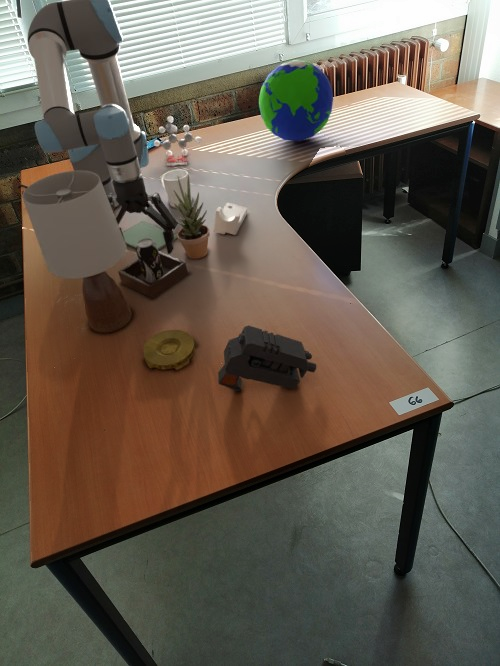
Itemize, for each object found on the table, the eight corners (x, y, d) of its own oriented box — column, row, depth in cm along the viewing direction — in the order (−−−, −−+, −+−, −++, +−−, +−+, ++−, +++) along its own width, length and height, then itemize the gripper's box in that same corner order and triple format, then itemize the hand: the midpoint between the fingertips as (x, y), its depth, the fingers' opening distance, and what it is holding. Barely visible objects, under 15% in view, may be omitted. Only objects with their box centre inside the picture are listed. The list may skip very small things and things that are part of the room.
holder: (121, 283, 143) (117, 271, 141) (156, 260, 151) (153, 249, 148) (152, 298, 136) (149, 286, 134) (188, 274, 143) (185, 262, 141)
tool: (211, 370, 109) (238, 319, 100) (290, 389, 115) (321, 343, 107) (212, 390, 104) (240, 339, 96) (294, 410, 111) (327, 363, 102)
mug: (197, 198, 179) (192, 170, 173) (185, 209, 174) (179, 181, 167) (172, 195, 184) (165, 167, 177) (158, 206, 178) (152, 178, 171)
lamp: (86, 299, 139) (35, 172, 115) (152, 295, 137) (114, 164, 113) (66, 345, 125) (2, 211, 101) (138, 341, 123) (92, 203, 99)
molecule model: (154, 173, 207) (143, 140, 194) (159, 149, 216) (149, 116, 203) (201, 170, 205) (193, 136, 192) (205, 146, 213) (198, 112, 200)
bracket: (235, 237, 158) (238, 216, 153) (213, 231, 158) (216, 210, 153) (246, 217, 167) (249, 197, 162) (225, 211, 168) (228, 191, 162)
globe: (304, 121, 227) (302, 47, 207) (348, 138, 206) (349, 57, 187) (248, 140, 217) (240, 64, 197) (288, 160, 196) (283, 77, 177)
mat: (114, 239, 163) (114, 237, 163) (142, 223, 170) (142, 221, 169) (150, 254, 154) (150, 253, 153) (178, 237, 160) (178, 235, 160)
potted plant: (199, 241, 157) (184, 164, 140) (219, 251, 151) (206, 172, 135) (174, 255, 152) (155, 178, 136) (193, 266, 146) (177, 186, 130)
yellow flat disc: (187, 373, 113) (186, 366, 112) (138, 370, 116) (135, 363, 114) (200, 337, 122) (199, 330, 121) (154, 335, 124) (152, 328, 123)
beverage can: (154, 286, 140) (144, 250, 132) (140, 281, 143) (129, 244, 135) (169, 276, 144) (159, 239, 136) (155, 270, 146) (145, 234, 139)
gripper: (73, 184, 123) (99, 258, 137) (170, 182, 118) (187, 258, 132) (86, 171, 129) (110, 243, 142) (179, 168, 124) (194, 243, 137)
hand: (147, 251), depth 137 cm, fingers open, 13 cm apart
